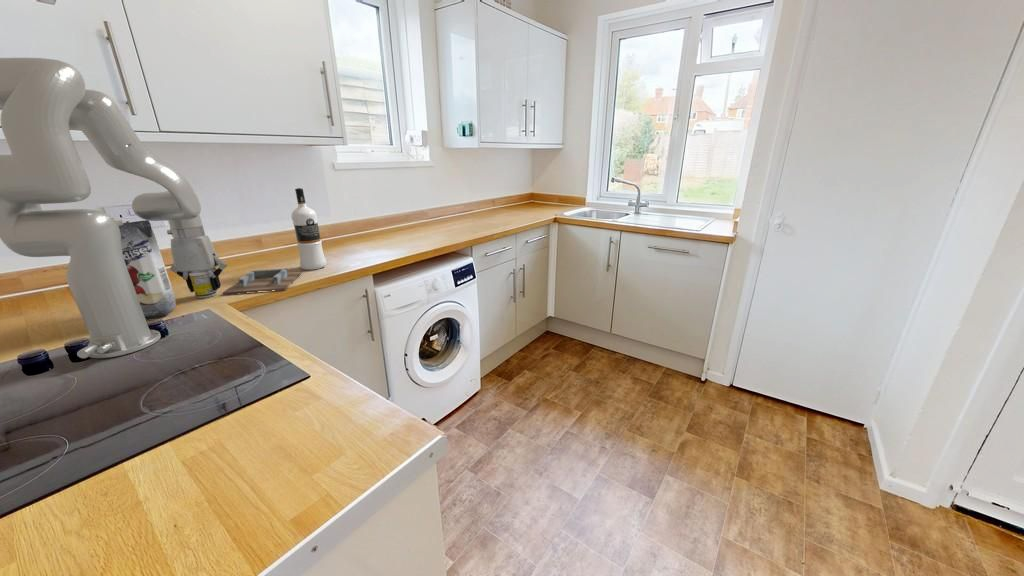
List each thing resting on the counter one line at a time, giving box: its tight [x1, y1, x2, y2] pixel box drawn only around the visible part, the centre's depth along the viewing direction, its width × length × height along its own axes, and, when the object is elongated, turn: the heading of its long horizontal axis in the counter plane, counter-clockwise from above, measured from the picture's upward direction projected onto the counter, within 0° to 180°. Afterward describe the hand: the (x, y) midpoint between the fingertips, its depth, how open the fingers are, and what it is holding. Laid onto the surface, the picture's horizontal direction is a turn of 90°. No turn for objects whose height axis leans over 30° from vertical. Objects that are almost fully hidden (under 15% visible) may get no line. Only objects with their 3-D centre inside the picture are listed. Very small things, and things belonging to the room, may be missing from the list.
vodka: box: [290, 187, 328, 271], centre depth 146 cm, size 9×9×30 cm
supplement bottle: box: [189, 270, 218, 299], centre depth 121 cm, size 6×6×10 cm
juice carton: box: [113, 218, 177, 320], centre depth 104 cm, size 9×10×27 cm
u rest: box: [222, 268, 303, 296], centre depth 132 cm, size 18×18×4 cm
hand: (205, 289), depth 122 cm, fingers closed on supplement bottle, 5 cm apart
